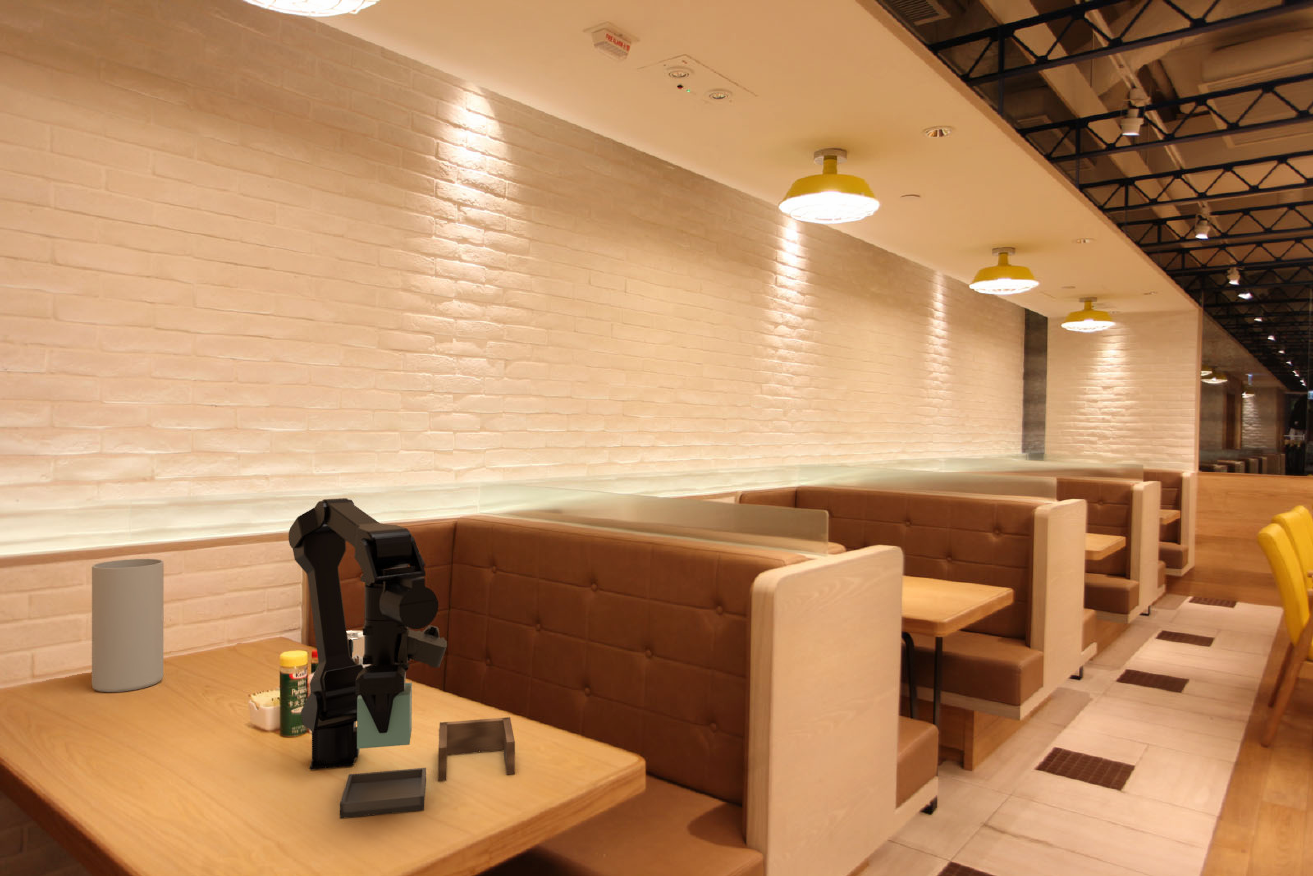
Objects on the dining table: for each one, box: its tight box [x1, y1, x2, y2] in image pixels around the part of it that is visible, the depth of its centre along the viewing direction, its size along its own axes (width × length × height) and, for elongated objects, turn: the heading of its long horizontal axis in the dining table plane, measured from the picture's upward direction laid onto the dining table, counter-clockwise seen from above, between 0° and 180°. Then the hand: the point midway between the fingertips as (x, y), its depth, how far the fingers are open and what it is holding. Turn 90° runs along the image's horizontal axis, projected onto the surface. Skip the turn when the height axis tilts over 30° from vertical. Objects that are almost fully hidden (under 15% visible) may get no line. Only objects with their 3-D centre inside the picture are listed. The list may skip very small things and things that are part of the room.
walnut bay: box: [437, 716, 516, 782], centre depth 132 cm, size 11×11×5 cm
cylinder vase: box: [91, 558, 165, 693], centre depth 172 cm, size 12×12×25 cm
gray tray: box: [339, 767, 427, 820], centre depth 119 cm, size 11×10×2 cm
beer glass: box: [347, 629, 371, 668], centre depth 154 cm, size 7×7×15 cm
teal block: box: [356, 682, 413, 750], centre depth 119 cm, size 7×6×7 cm
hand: (385, 725), depth 119 cm, fingers closed on teal block, 6 cm apart
